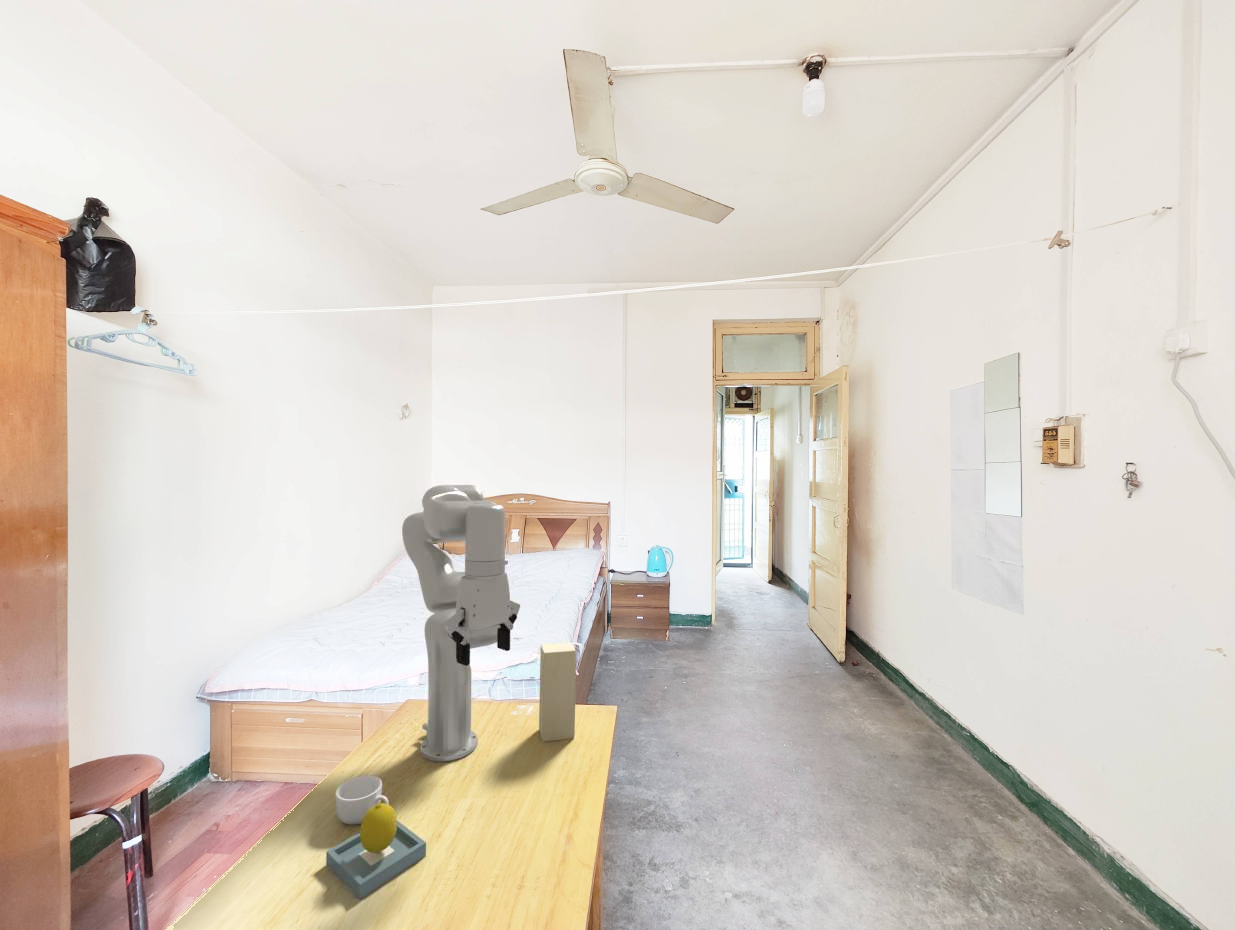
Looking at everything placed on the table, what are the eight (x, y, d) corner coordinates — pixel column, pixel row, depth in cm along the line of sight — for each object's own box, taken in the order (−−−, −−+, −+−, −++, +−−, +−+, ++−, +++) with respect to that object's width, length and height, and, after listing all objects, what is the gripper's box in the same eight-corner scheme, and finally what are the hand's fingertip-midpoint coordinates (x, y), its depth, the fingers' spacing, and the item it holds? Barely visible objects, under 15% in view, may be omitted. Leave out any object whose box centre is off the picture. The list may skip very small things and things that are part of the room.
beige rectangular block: (570, 723, 131) (570, 640, 131) (575, 738, 124) (576, 650, 124) (538, 727, 129) (539, 643, 129) (542, 742, 122) (543, 653, 122)
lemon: (367, 841, 88) (368, 794, 88) (401, 839, 88) (401, 792, 88) (353, 866, 82) (354, 816, 82) (389, 864, 83) (390, 814, 83)
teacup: (324, 827, 93) (325, 797, 93) (355, 800, 100) (355, 772, 100) (373, 836, 91) (373, 805, 91) (400, 808, 98) (401, 779, 98)
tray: (326, 864, 84) (326, 851, 84) (390, 827, 93) (390, 815, 93) (360, 899, 77) (360, 884, 77) (425, 855, 86) (426, 842, 86)
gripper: (506, 559, 109) (505, 640, 109) (434, 572, 95) (433, 665, 95) (531, 563, 105) (530, 648, 105) (459, 578, 91) (458, 675, 91)
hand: (484, 656), depth 100 cm, fingers open, 9 cm apart
